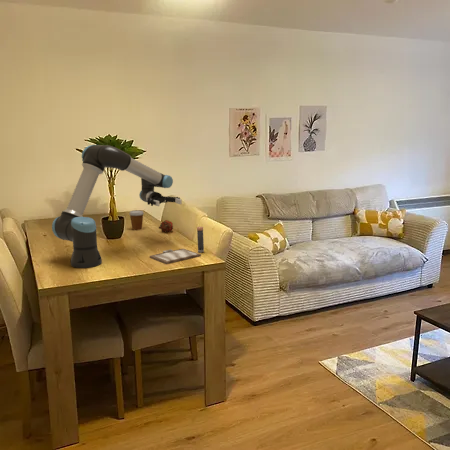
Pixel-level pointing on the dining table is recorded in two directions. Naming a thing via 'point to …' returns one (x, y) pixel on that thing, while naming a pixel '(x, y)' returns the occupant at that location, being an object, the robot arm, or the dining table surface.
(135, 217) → the disposable coffee cup
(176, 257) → the clipboard
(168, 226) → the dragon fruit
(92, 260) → the robot arm
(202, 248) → the marker
